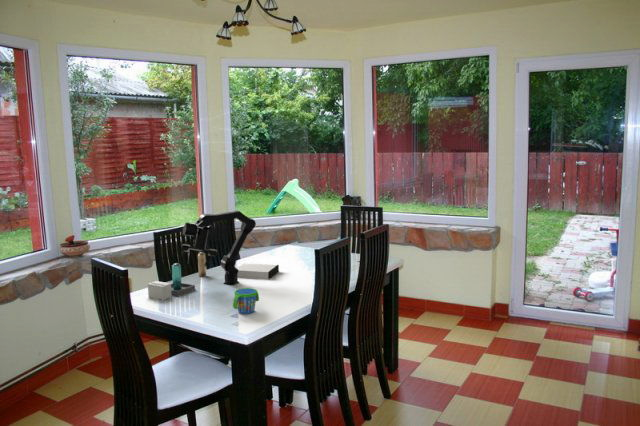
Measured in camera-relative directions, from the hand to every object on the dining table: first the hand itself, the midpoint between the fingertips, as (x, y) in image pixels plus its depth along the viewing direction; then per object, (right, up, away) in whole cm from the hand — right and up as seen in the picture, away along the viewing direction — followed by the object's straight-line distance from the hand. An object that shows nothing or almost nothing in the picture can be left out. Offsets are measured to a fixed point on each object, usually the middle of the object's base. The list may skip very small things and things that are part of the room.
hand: (196, 265), depth 278 cm
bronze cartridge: (-3, -9, +27) cm, 28 cm away
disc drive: (+29, -9, +30) cm, 43 cm away
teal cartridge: (-9, -12, -5) cm, 16 cm away
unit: (-15, -15, -14) cm, 26 cm away
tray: (-9, -13, -5) cm, 17 cm away
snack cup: (+33, -18, -37) cm, 53 cm away
